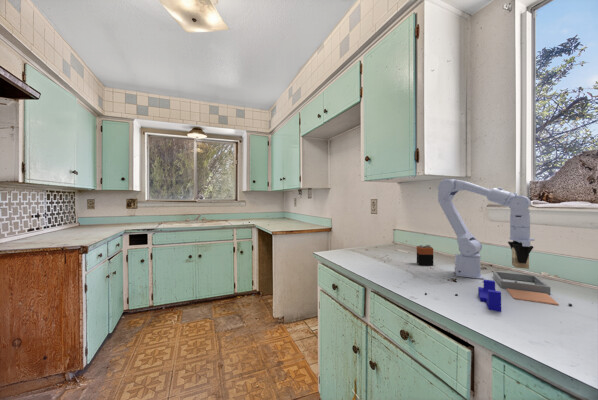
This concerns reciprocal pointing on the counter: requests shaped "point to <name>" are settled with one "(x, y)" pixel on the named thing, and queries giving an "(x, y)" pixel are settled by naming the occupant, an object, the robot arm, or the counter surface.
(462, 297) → the counter surface
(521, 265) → the part block
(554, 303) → the place mat
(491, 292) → the cable clip
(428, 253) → the battery
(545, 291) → the parts tray
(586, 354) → the counter surface
